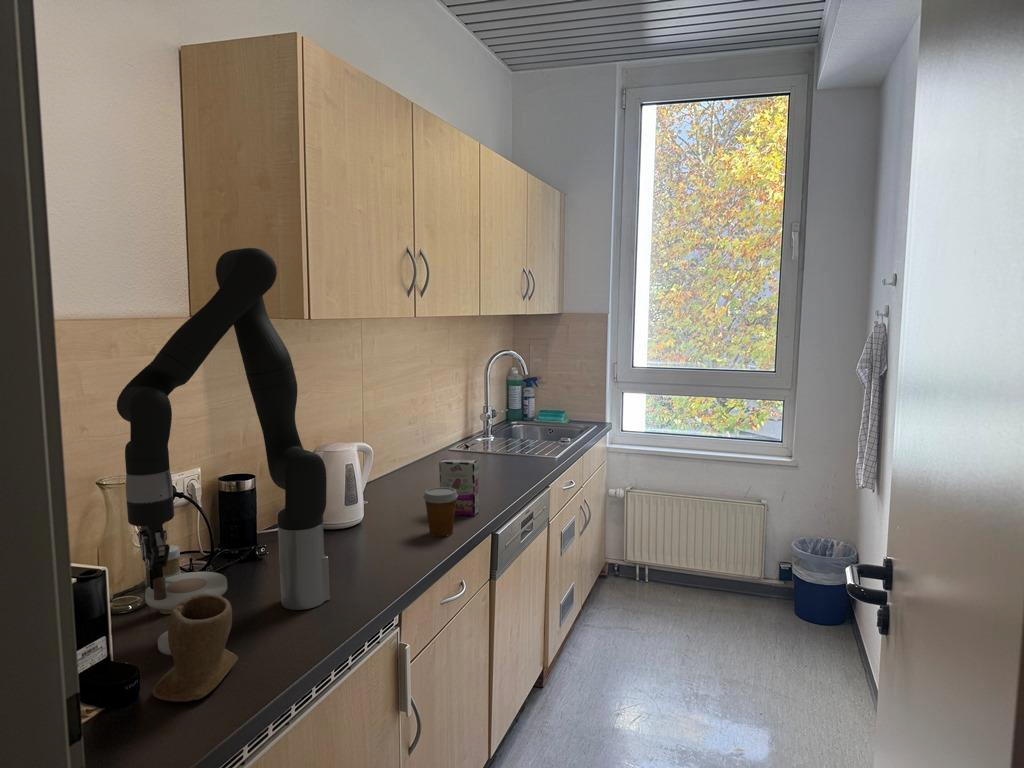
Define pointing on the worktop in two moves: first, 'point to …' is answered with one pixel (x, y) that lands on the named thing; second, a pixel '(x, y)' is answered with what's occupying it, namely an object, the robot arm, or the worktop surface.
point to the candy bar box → (462, 483)
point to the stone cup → (197, 648)
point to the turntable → (184, 588)
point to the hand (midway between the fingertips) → (156, 587)
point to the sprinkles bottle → (171, 569)
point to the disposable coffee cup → (440, 510)
